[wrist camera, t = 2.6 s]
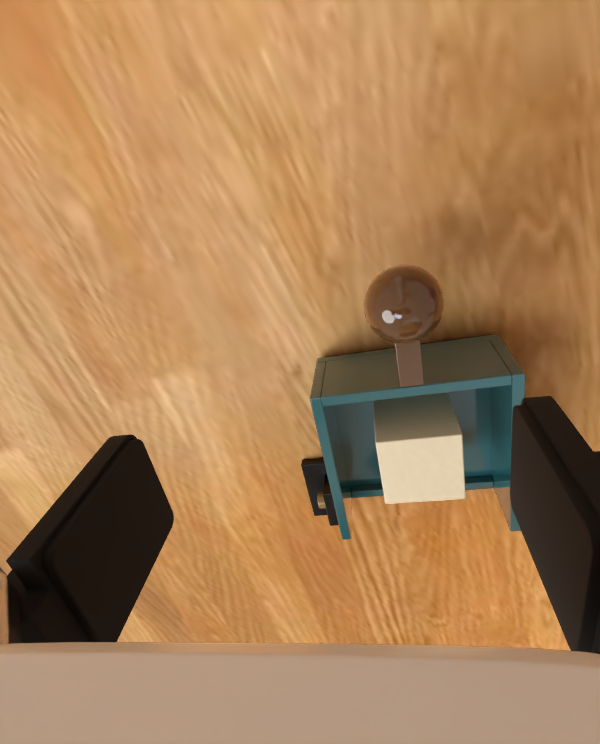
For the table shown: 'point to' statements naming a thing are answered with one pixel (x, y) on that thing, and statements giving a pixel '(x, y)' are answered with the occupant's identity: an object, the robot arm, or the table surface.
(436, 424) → the block
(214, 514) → the table surface
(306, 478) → the cradle
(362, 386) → the teal drawer box
